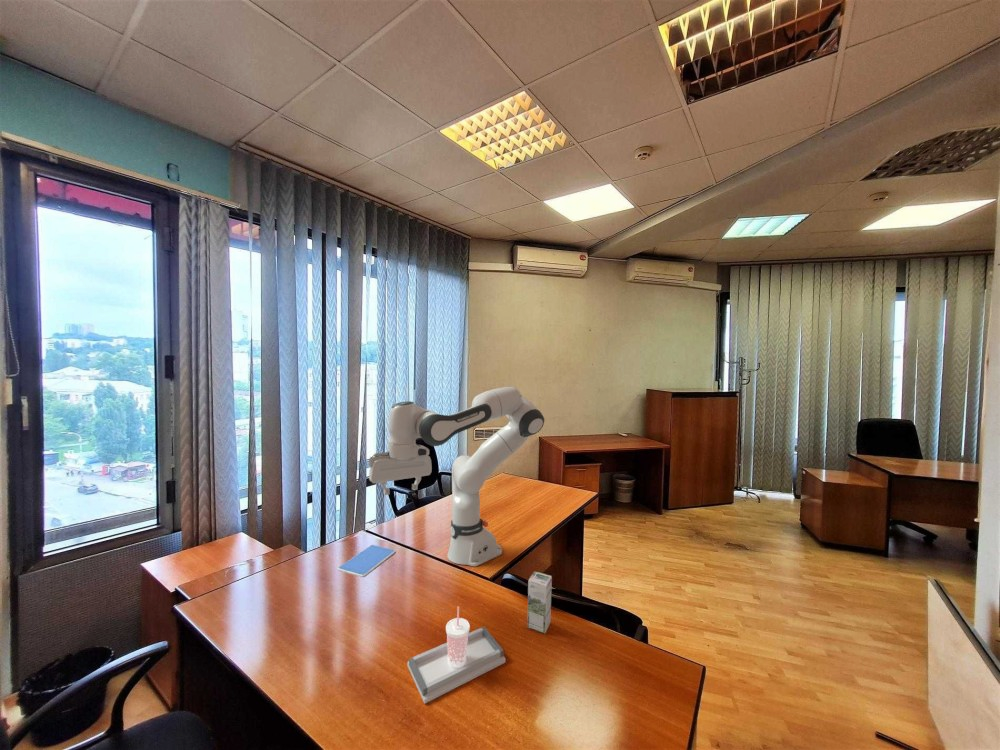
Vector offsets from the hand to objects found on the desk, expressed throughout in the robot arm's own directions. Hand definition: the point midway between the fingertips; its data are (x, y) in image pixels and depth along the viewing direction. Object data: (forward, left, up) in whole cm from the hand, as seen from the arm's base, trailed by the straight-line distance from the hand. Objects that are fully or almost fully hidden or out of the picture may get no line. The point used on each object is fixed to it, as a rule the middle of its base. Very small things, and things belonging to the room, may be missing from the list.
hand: (400, 491), depth 119 cm
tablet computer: (+4, -26, -35) cm, 44 cm away
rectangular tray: (-4, +36, -34) cm, 50 cm away
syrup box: (-31, +36, -34) cm, 59 cm away
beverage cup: (-4, +36, -33) cm, 49 cm away
